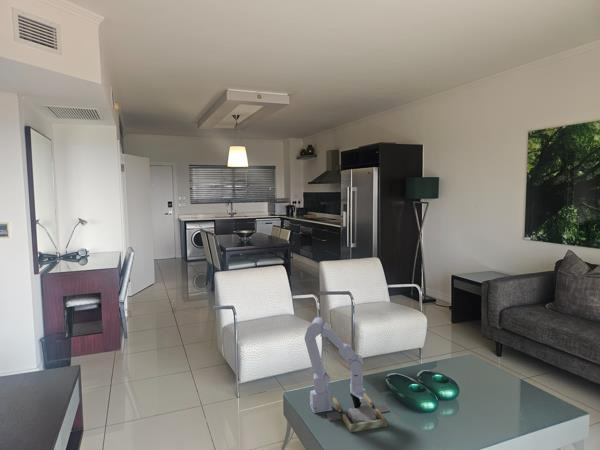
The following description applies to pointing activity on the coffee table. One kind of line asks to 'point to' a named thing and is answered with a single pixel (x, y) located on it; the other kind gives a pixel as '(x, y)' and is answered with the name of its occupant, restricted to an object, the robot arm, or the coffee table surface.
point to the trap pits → (336, 416)
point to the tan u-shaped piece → (363, 425)
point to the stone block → (361, 414)
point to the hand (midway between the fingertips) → (357, 408)
